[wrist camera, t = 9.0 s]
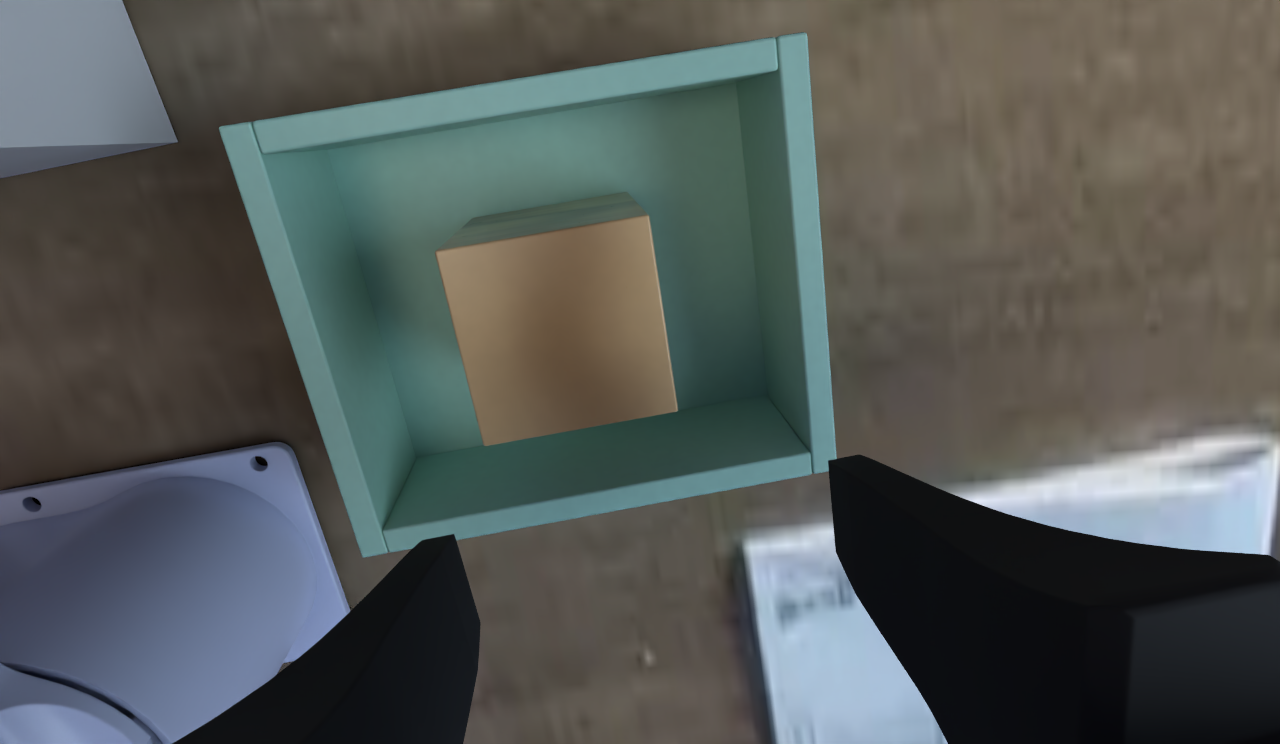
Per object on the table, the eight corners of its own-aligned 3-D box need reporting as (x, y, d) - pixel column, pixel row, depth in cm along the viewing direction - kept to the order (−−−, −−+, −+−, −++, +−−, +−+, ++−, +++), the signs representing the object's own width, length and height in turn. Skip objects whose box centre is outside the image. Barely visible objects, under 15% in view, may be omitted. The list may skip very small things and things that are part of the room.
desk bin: (403, 472, 23) (362, 558, 19) (300, 127, 20) (216, 126, 15) (785, 403, 24) (838, 470, 19) (752, 54, 20) (808, 30, 16)
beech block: (505, 366, 22) (483, 447, 16) (471, 217, 21) (433, 250, 15) (651, 340, 22) (678, 412, 17) (627, 191, 21) (649, 214, 15)
